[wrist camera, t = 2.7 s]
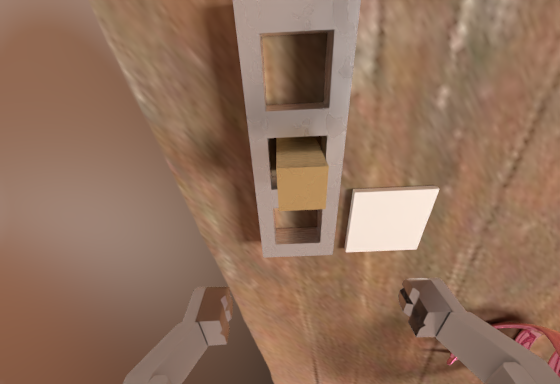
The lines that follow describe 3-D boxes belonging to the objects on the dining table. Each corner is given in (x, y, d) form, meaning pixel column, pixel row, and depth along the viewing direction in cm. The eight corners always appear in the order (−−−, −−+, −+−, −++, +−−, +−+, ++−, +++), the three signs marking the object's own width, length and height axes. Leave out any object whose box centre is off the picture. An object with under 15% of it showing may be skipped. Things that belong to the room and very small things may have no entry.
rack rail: (238, 4, 18) (232, -4, 16) (349, -2, 18) (361, -12, 15) (264, 241, 32) (263, 257, 29) (328, 238, 32) (332, 254, 29)
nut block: (276, 136, 24) (276, 168, 17) (314, 134, 24) (328, 166, 17) (278, 170, 26) (278, 211, 19) (312, 168, 26) (325, 209, 19)
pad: (352, 189, 27) (354, 192, 27) (435, 185, 27) (439, 188, 26) (344, 248, 33) (345, 252, 32) (413, 245, 32) (416, 249, 32)
